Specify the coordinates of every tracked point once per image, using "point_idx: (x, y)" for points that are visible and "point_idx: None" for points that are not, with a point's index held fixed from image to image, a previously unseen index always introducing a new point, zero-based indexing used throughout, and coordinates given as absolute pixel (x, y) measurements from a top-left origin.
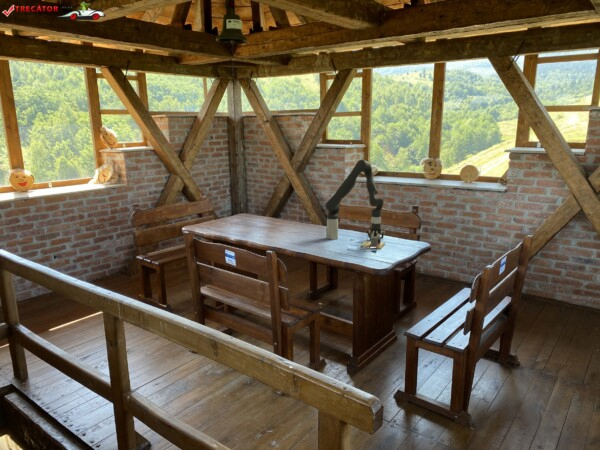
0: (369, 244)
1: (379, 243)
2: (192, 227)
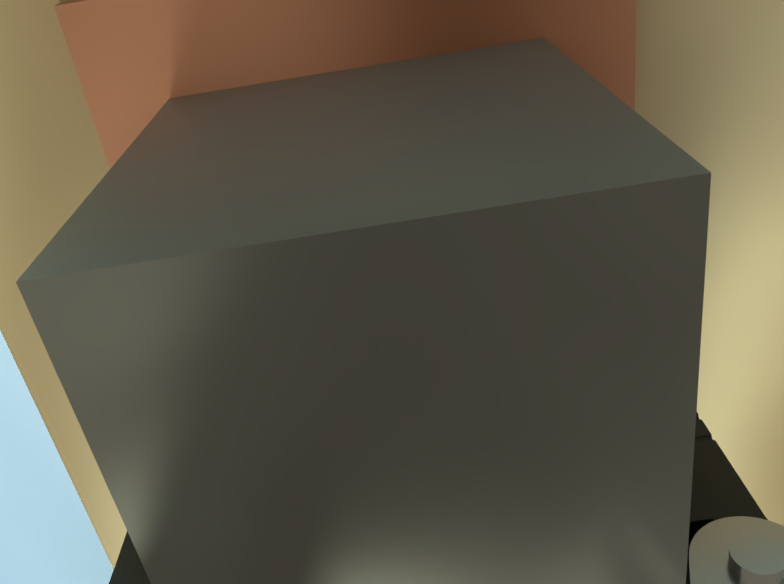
0: None
1: None
2: None
